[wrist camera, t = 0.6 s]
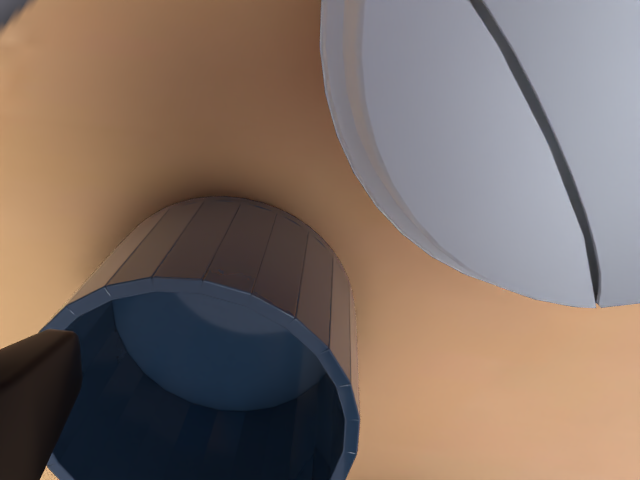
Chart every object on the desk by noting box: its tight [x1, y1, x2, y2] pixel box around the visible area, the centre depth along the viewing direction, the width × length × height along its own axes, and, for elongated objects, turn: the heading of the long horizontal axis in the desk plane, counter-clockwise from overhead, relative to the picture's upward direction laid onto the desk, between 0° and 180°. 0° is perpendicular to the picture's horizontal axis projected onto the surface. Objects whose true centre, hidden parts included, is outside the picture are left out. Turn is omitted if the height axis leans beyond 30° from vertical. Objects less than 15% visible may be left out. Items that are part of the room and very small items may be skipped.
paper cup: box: [320, 0, 640, 308], centre depth 12 cm, size 8×8×14 cm
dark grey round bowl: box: [38, 196, 360, 480], centre depth 21 cm, size 11×11×7 cm
